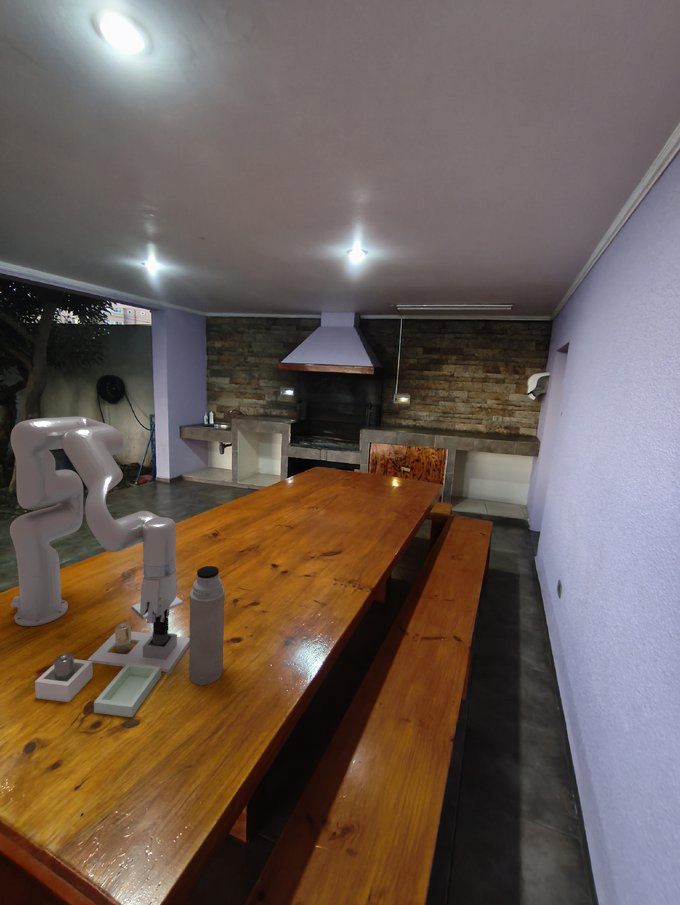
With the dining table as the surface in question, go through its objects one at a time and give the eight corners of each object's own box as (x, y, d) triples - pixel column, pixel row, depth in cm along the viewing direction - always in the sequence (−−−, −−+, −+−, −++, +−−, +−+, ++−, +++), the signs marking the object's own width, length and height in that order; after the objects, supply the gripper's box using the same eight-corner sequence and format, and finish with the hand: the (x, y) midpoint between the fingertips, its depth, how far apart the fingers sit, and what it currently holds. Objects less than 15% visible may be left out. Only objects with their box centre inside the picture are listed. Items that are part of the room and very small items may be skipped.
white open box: (36, 701, 86) (34, 681, 85) (62, 675, 94) (61, 657, 93) (69, 705, 86) (68, 685, 85) (92, 679, 93) (92, 661, 92)
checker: (87, 664, 98) (87, 648, 97) (117, 634, 109) (117, 620, 109) (169, 674, 97) (169, 658, 96) (190, 642, 108) (190, 628, 108)
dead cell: (51, 691, 88) (49, 660, 86) (63, 679, 91) (62, 649, 90) (67, 693, 88) (65, 662, 86) (78, 681, 91) (77, 651, 90)
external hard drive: (131, 610, 122) (170, 595, 131) (143, 621, 117) (182, 605, 126) (131, 605, 121) (170, 590, 131) (143, 616, 116) (182, 600, 126)
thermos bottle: (195, 660, 102) (196, 561, 97) (226, 662, 102) (229, 563, 97) (184, 684, 94) (185, 577, 89) (217, 685, 94) (220, 579, 89)
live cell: (112, 655, 102) (112, 627, 100) (121, 645, 105) (120, 619, 104) (126, 656, 101) (125, 629, 100) (134, 647, 105) (133, 620, 103)
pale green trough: (94, 715, 84) (93, 702, 83) (127, 674, 96) (127, 662, 95) (132, 720, 83) (131, 707, 83) (161, 678, 95) (161, 666, 95)
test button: (149, 649, 101) (149, 635, 100) (157, 640, 104) (157, 627, 103) (163, 651, 100) (163, 637, 100) (170, 642, 104) (170, 628, 103)
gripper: (160, 553, 106) (161, 614, 109) (127, 580, 91) (129, 650, 94) (187, 555, 105) (187, 617, 109) (158, 583, 91) (160, 653, 94)
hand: (160, 632), depth 101 cm, fingers closed
